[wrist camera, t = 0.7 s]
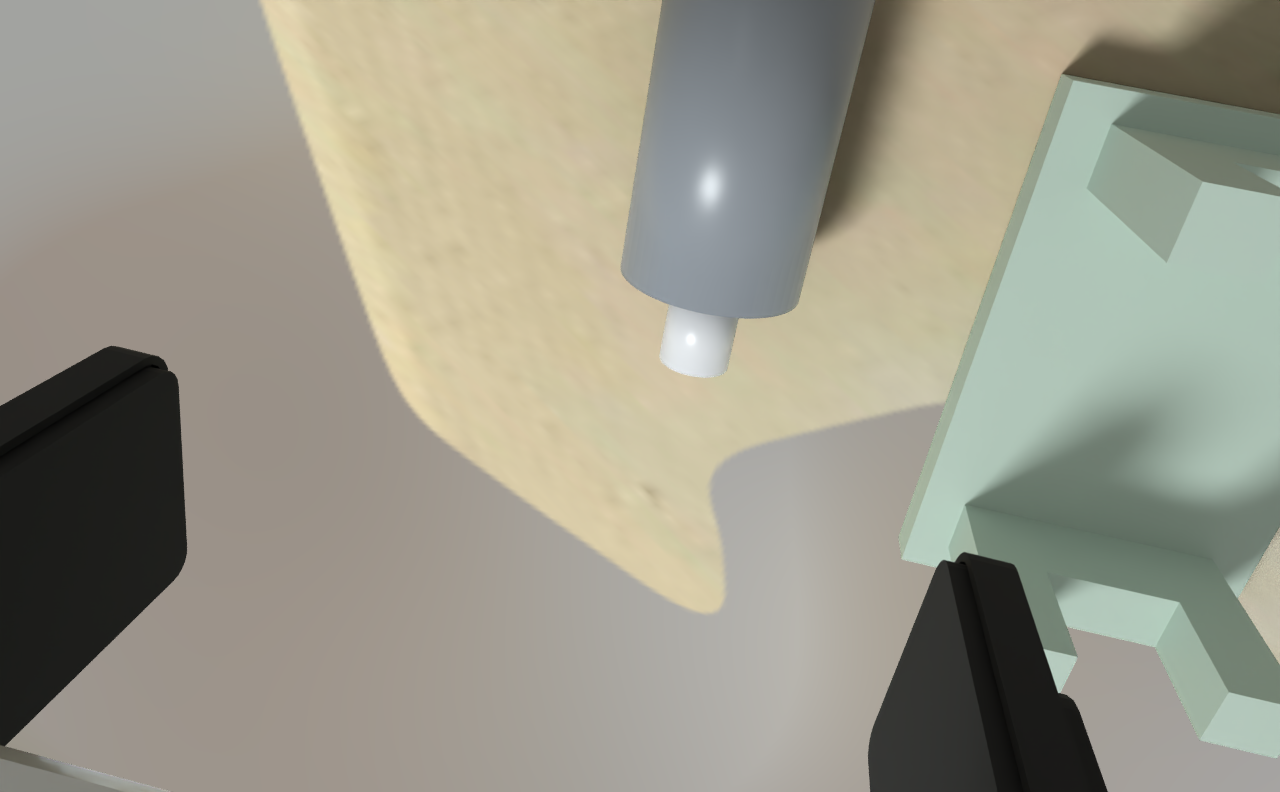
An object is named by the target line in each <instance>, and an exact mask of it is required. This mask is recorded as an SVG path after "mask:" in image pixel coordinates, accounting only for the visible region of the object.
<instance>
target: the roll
mask: <svg viewBox="0 0 1280 792" xmlns="http://www.w3.org/2000/svg"><path fill="white" fill-rule="evenodd" d="M874 3H875V0H662V6H661V12H660V19H659V25H658V31H657V38H656V44H655V51H654V57H653V63H652V70H651V76H650V83H649V89H648V95H647V102H646V108H645V115H644V121H643V127H642V134H641V140H640V146H639V153H638V159H637V166H636V172H635V178H634V185H633V191H632V198H631V204H630V210H629V217H628V223H627V229H626V236H625V242H624V249H623V255H622V261H621V272H622V275H623V276H624V278H625V279H626V280H627V281H628V282H629V283H630V284H631V285H632V286H634V287H635V288H636V289H638V290H639V291H641V292H643V293H644V294H646V295H648V296H650V297H652V298H654V299H657V300H659V301H662V302H664V303H667V304H669V307H668V312H667V317H666V323H665V328H664V334H663V339H662V344H661V350H660V355H659V357H660V360H661V362H662V363H663V364H664V365H666V366H667V367H668V368H670V369H672V370H674V371H676V372H679V373H681V374H685V375H689V376H694V377H716V376H719V375H722V374H724V373H725V372H726V371H727V368H728V364H729V359H730V355H731V350H732V346H733V341H734V337H735V332H736V328H737V324H738V319H739V318H749V319H750V318H766V317H773V316H778V315H782V314H785V313H787V312H789V311H791V310H793V309H794V308H795V307H796V306H797V304H798V302H799V298H800V294H801V290H802V286H803V282H804V278H805V274H806V270H807V267H808V263H809V259H810V255H811V251H812V247H813V243H814V239H815V235H816V231H817V227H818V223H819V219H820V215H821V212H822V208H823V204H824V200H825V196H826V192H827V188H828V184H829V180H830V176H831V172H832V168H833V164H834V160H835V157H836V153H837V149H838V145H839V141H840V137H841V133H842V129H843V125H844V121H845V117H846V113H847V109H848V105H849V102H850V98H851V94H852V90H853V86H854V82H855V78H856V74H857V70H858V66H859V62H860V58H861V54H862V50H863V47H864V43H865V39H866V35H867V31H868V27H869V23H870V19H871V15H872V11H873V7H874Z"/></svg>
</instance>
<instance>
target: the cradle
mask: <svg viewBox="0 0 1280 792" xmlns="http://www.w3.org/2000/svg"><path fill="white" fill-rule="evenodd" d="M1279 527H1280V114H1275V113H1269V112H1264V111H1259V110H1253V109H1248V108H1242V107H1237V106H1232V105H1226V104H1221V103H1216V102H1210V101H1205V100H1200V99H1194V98H1189V97H1183V96H1178V95H1173V94H1167V93H1162V92H1157V91H1151V90H1146V89H1141V88H1135V87H1130V86H1124V85H1119V84H1114V83H1108V82H1103V81H1098V80H1092V79H1087V78H1082V77H1076V76H1071V75H1065V74H1061V77H1060V80H1059V83H1058V86H1057V89H1056V91H1055V94H1054V97H1053V100H1052V103H1051V106H1050V109H1049V111H1048V114H1047V117H1046V120H1045V123H1044V126H1043V128H1042V131H1041V134H1040V137H1039V140H1038V143H1037V145H1036V148H1035V151H1034V154H1033V157H1032V160H1031V162H1030V165H1029V168H1028V171H1027V174H1026V177H1025V179H1024V182H1023V185H1022V188H1021V191H1020V194H1019V197H1018V199H1017V202H1016V205H1015V208H1014V211H1013V214H1012V216H1011V219H1010V222H1009V225H1008V228H1007V231H1006V233H1005V236H1004V239H1003V242H1002V245H1001V248H1000V250H999V253H998V256H997V259H996V262H995V265H994V267H993V270H992V273H991V276H990V279H989V282H988V285H987V287H986V290H985V293H984V296H983V299H982V302H981V304H980V307H979V310H978V313H977V316H976V319H975V321H974V324H973V327H972V330H971V333H970V336H969V338H968V341H967V344H966V347H965V350H964V353H963V356H962V358H961V361H960V364H959V367H958V370H957V373H956V375H955V378H954V381H953V384H952V387H951V390H950V392H949V395H948V398H947V401H946V404H945V407H944V409H943V412H942V415H941V419H940V421H939V424H938V426H937V429H936V432H935V435H934V438H933V441H932V444H931V446H930V449H929V452H928V455H927V458H926V461H925V464H924V466H923V469H922V472H921V475H920V478H919V480H918V483H917V486H916V489H915V492H914V495H913V498H912V500H911V503H910V506H909V509H908V512H907V515H906V517H905V520H904V523H903V526H902V529H901V532H900V535H899V545H900V552H901V558H902V560H907V561H911V562H915V563H920V564H924V565H929V566H932V567H937V566H938V564H939V563H940V562H941V561H942V560H947V561H951V562H955V561H956V559H957V558H958V556H959V555H960V554H961V553H963V552H967V553H971V554H975V555H979V556H984V557H988V558H992V559H996V560H1000V561H1004V562H1008V563H1012V564H1014V565H1015V567H1016V568H1017V570H1018V573H1019V576H1020V579H1021V582H1022V585H1023V588H1024V591H1025V594H1026V597H1027V600H1028V603H1029V606H1030V609H1031V612H1032V615H1033V618H1034V621H1035V625H1036V628H1037V631H1038V634H1039V637H1040V640H1041V643H1042V646H1043V649H1044V652H1045V655H1046V658H1047V661H1048V664H1049V667H1050V670H1051V673H1052V676H1053V679H1054V682H1055V685H1056V688H1057V691H1058V693H1060V692H1061V690H1062V688H1063V686H1064V684H1065V682H1066V680H1067V678H1068V676H1069V674H1070V672H1071V670H1072V668H1073V666H1074V664H1075V662H1076V660H1077V658H1078V656H1077V654H1076V651H1075V648H1074V645H1073V642H1072V640H1071V637H1070V634H1069V631H1068V629H1067V627H1070V628H1074V629H1078V630H1083V631H1087V632H1091V633H1096V634H1100V635H1104V636H1109V637H1113V638H1117V639H1121V640H1126V641H1130V642H1134V643H1139V644H1143V645H1147V646H1152V647H1155V648H1156V650H1157V653H1158V655H1159V657H1160V659H1161V661H1162V663H1163V665H1164V667H1165V669H1166V671H1167V673H1168V675H1169V678H1170V680H1171V682H1172V684H1173V685H1174V688H1175V690H1176V692H1177V694H1178V696H1179V699H1180V701H1181V702H1182V705H1183V707H1184V709H1185V711H1186V713H1187V715H1188V717H1189V719H1190V722H1191V723H1192V726H1193V728H1194V730H1195V732H1196V734H1197V736H1198V738H1199V740H1201V741H1205V742H1209V743H1214V744H1217V745H1222V746H1226V747H1230V748H1234V749H1238V750H1243V751H1247V752H1251V753H1256V754H1260V755H1264V756H1268V757H1272V758H1276V759H1277V758H1278V756H1279V755H1280V665H1279V663H1278V662H1277V660H1276V658H1275V657H1274V655H1273V654H1272V652H1271V651H1270V649H1269V647H1268V646H1267V644H1266V643H1265V641H1264V640H1263V638H1262V636H1261V635H1260V633H1259V632H1258V630H1257V629H1256V627H1255V625H1254V624H1253V622H1252V621H1251V619H1250V618H1249V616H1248V614H1247V613H1246V611H1245V610H1244V608H1243V607H1242V605H1241V604H1240V602H1239V600H1238V597H1239V595H1240V594H1241V592H1242V590H1243V588H1244V587H1245V585H1246V583H1247V582H1248V580H1249V578H1250V576H1251V575H1252V573H1253V571H1254V570H1255V568H1256V566H1257V564H1258V563H1259V561H1260V559H1261V558H1262V556H1263V554H1264V552H1265V551H1266V549H1267V547H1268V545H1269V544H1270V542H1271V540H1272V539H1273V537H1274V535H1275V533H1276V532H1277V530H1278V528H1279Z"/></svg>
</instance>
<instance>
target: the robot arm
mask: <svg viewBox="0 0 1280 792" xmlns="http://www.w3.org/2000/svg"><path fill="white" fill-rule="evenodd" d="M182 463H183V462H182V443H181V424H180V404H179V386H178V380H177V378H176V376H175V374H173V373H172V372H171V371H168V368H167V365H166V363H165V362H164V360H163V359H161V358H160V357H159V356H154V355H150V354H146V353H142V352H138V351H134V350H130V349H125V348H121V347H116V346H110V347H107V348H104V349H102V350H100V351H99V352H97V353H95V354H93V355H91V356H89V357H88V358H86V359H84V360H82V361H81V362H79V363H77V364H75V365H73V366H71V367H70V368H68V369H66V370H65V371H63V372H61V373H59V374H57V375H55V376H53V377H52V378H50V379H48V380H46V381H44V382H43V383H41V384H39V385H37V386H36V387H34V388H32V389H30V390H29V391H26V392H25V393H23V394H21V395H19V396H17V397H16V398H14V399H12V400H10V401H9V402H7V403H5V404H3V405H1V406H0V792H171V791H167V790H164V789H160V788H157V787H153V786H149V785H145V784H142V783H138V782H135V781H131V780H127V779H123V778H120V777H115V776H112V775H109V774H105V773H101V772H98V771H94V770H90V769H87V768H82V767H79V766H75V765H72V764H68V763H64V762H61V761H57V760H53V759H49V758H46V757H42V756H38V755H35V754H31V753H28V752H24V751H20V750H16V749H12V748H9V747H5V745H6V744H7V743H8V742H10V741H11V740H12V738H13V737H15V736H16V735H17V734H18V733H19V732H20V731H21V730H22V729H23V728H24V727H25V726H26V725H27V724H28V723H29V722H30V721H31V720H32V719H33V718H34V717H35V716H36V715H37V714H38V713H39V712H40V711H41V710H42V709H43V708H44V707H45V706H46V705H47V704H48V703H49V702H50V701H51V700H52V699H53V698H54V697H55V696H56V695H57V694H58V693H60V692H61V691H62V689H64V687H66V686H67V685H68V684H69V683H70V682H71V681H72V680H73V679H74V678H75V677H76V676H77V675H78V674H79V673H80V672H81V671H82V670H83V669H84V668H85V667H86V666H87V665H88V664H89V663H90V662H91V661H92V660H93V659H94V658H95V657H96V656H97V655H98V654H99V653H100V652H101V651H102V650H103V649H104V648H105V647H106V646H107V645H108V644H110V643H111V642H112V640H114V639H115V638H116V637H117V636H118V635H119V634H120V633H121V632H122V631H123V630H124V629H125V628H126V627H127V626H128V625H129V624H130V623H131V622H132V621H133V620H134V619H135V618H136V617H137V616H138V615H139V614H140V613H141V612H142V611H143V610H144V609H145V608H146V607H147V606H148V605H149V604H150V603H151V602H152V601H153V600H154V599H155V598H156V597H157V596H158V595H159V594H160V593H161V592H163V591H164V590H165V588H167V587H168V586H169V585H170V584H171V583H172V582H173V581H174V580H175V578H176V577H177V576H178V575H179V573H180V571H181V569H182V567H183V565H184V562H185V559H186V554H187V539H186V519H185V500H184V482H183V464H182ZM868 764H869V777H870V792H1108V791H1107V789H1106V786H1105V783H1104V780H1103V777H1102V774H1101V772H1100V769H1099V766H1098V763H1097V760H1096V757H1095V754H1094V752H1093V749H1092V746H1091V743H1090V740H1089V737H1088V735H1087V732H1086V729H1085V726H1084V723H1083V720H1082V718H1081V715H1080V712H1079V710H1078V708H1077V706H1076V704H1075V702H1074V701H1073V700H1072V699H1071V698H1069V697H1068V696H1067V695H1065V694H1061V693H1058V691H1057V688H1056V685H1055V682H1054V679H1053V676H1052V673H1051V670H1050V667H1049V664H1048V661H1047V658H1046V655H1045V652H1044V649H1043V646H1042V643H1041V640H1040V637H1039V634H1038V631H1037V628H1036V625H1035V621H1034V618H1033V615H1032V612H1031V609H1030V606H1029V603H1028V600H1027V597H1026V594H1025V591H1024V588H1023V585H1022V582H1021V579H1020V576H1019V573H1018V570H1017V568H1016V567H1015V565H1014V564H1012V563H1008V562H1004V561H1000V560H996V559H992V558H988V557H984V556H979V555H975V554H971V553H967V552H963V553H961V554H960V555H959V556H958V558H957V559H956V561H955V562H951V561H947V560H942V561H941V562H940V563H939V564H938V566H937V568H936V570H935V573H934V575H933V578H932V580H931V583H930V585H929V588H928V590H927V593H926V596H925V598H924V600H923V603H922V606H921V608H920V611H919V613H918V616H917V618H916V620H915V623H914V625H913V628H912V631H911V633H910V636H909V638H908V641H907V643H906V646H905V648H904V651H903V653H902V656H901V659H900V661H899V663H898V666H897V668H896V671H895V673H894V676H893V678H892V681H891V683H890V686H889V688H888V691H887V693H886V696H885V698H884V701H883V703H882V706H881V709H880V711H879V714H878V716H877V718H876V721H875V724H874V726H873V729H872V733H871V737H870V742H869V751H868Z"/></svg>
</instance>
